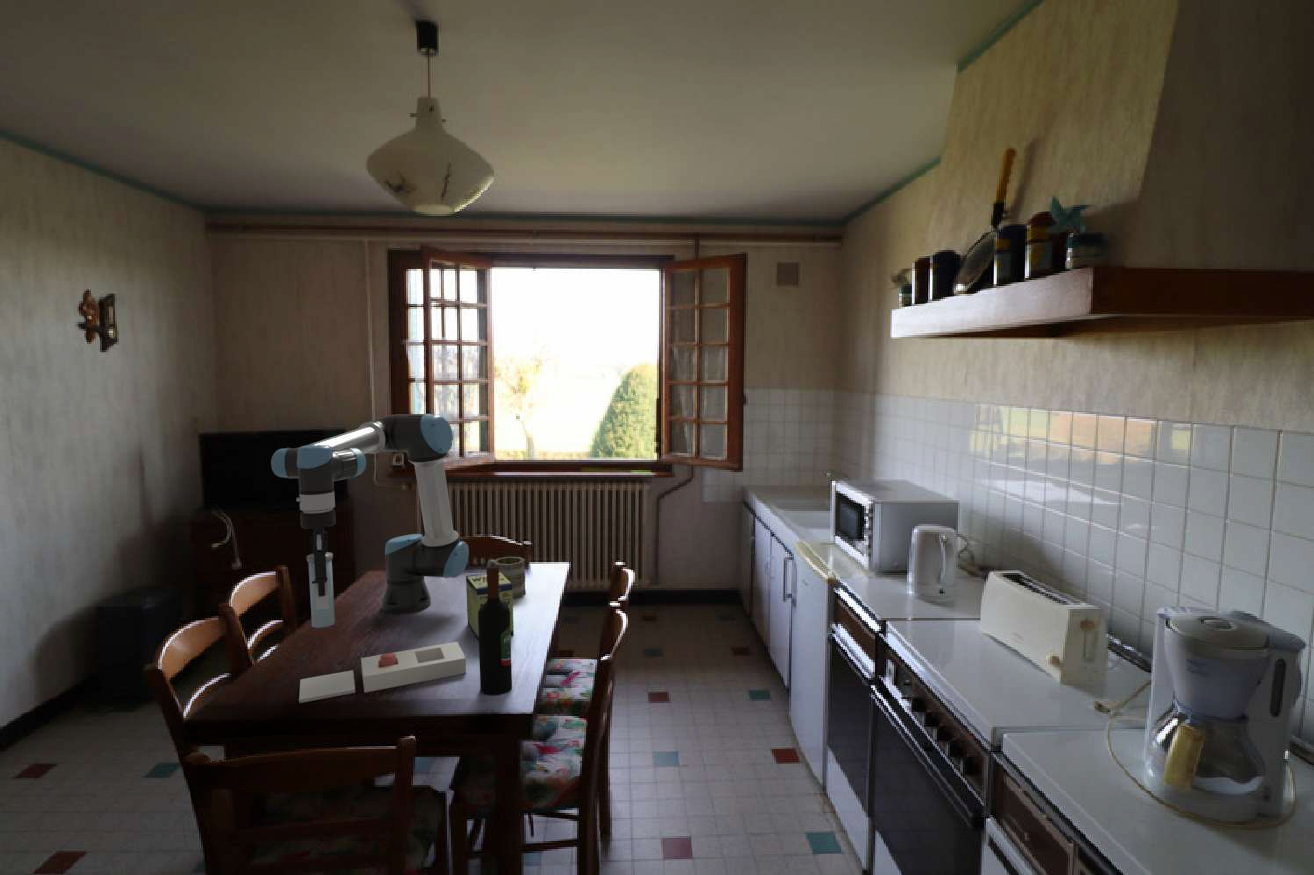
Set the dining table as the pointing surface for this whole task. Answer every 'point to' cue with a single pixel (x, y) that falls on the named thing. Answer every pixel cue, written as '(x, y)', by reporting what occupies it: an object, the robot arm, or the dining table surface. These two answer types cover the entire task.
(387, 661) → the plunger
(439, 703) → the dining table surface
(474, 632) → the protein box
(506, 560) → the mug
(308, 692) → the pad
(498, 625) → the wine bottle
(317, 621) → the cylinder
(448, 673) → the block
